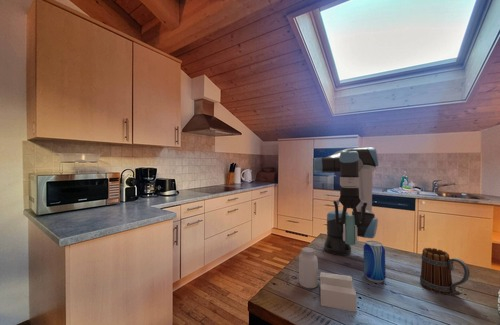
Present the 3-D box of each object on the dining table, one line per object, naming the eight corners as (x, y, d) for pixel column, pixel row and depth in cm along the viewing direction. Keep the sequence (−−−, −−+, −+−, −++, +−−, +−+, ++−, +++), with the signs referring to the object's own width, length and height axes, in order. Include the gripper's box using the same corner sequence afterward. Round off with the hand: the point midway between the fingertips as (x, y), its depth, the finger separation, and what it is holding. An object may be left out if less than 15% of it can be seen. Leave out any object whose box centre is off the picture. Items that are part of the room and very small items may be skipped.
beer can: (388, 284, 90) (388, 247, 90) (367, 282, 92) (367, 246, 92) (380, 274, 98) (380, 240, 98) (361, 272, 100) (361, 239, 100)
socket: (320, 285, 90) (320, 271, 90) (351, 291, 86) (351, 276, 86) (320, 305, 77) (320, 288, 77) (356, 312, 74) (356, 295, 74)
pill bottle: (303, 290, 87) (303, 253, 87) (296, 279, 95) (296, 246, 95) (321, 288, 88) (321, 252, 88) (312, 277, 96) (312, 245, 96)
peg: (344, 241, 93) (344, 214, 94) (354, 242, 92) (354, 214, 92) (345, 244, 90) (345, 216, 90) (355, 245, 88) (355, 216, 88)
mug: (414, 283, 91) (413, 248, 91) (429, 278, 95) (428, 245, 95) (461, 305, 76) (460, 264, 76) (476, 298, 80) (475, 259, 80)
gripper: (328, 187, 90) (329, 241, 90) (373, 188, 85) (374, 246, 85) (328, 185, 97) (328, 235, 97) (369, 186, 92) (370, 239, 92)
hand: (350, 240), depth 91 cm, fingers closed on peg, 4 cm apart
